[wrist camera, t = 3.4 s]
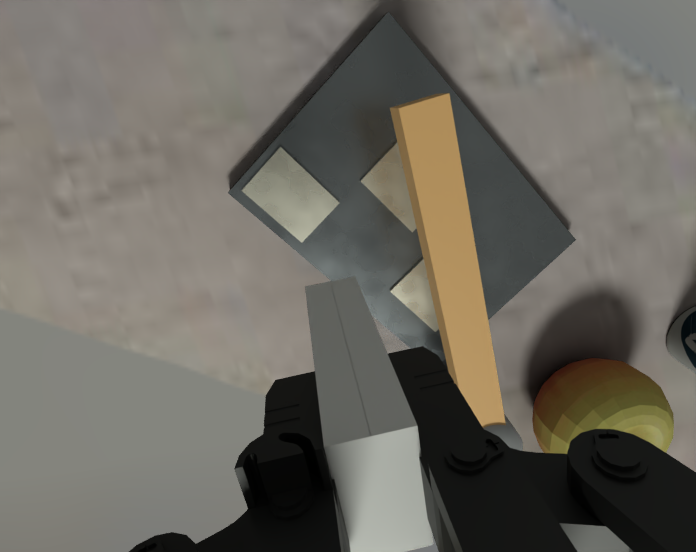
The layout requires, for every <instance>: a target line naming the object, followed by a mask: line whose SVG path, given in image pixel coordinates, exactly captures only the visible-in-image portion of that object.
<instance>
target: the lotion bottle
mask: <svg viewBox="0 0 696 552" xmlns="http://www.w3.org/2000/svg"><path fill="white" fill-rule="evenodd" d="M667 348H668V351H669V353H670V354H671V356H672V357H673V358H674V359H676V360H677V361H678V362H680V363H681V364H683V365H684V366H685V367H687V368H688V369H690V370H691V371H693V372H694V373H696V306H695V307H693V308H690V309H689V310H687V311H686V312H684V313H683V314H682V315H681V316H679V317H678V318H677V320H676V321H675V322H674V323H673V325H672V326H671V328H670V330H669V333H668V336H667Z"/></svg>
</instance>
